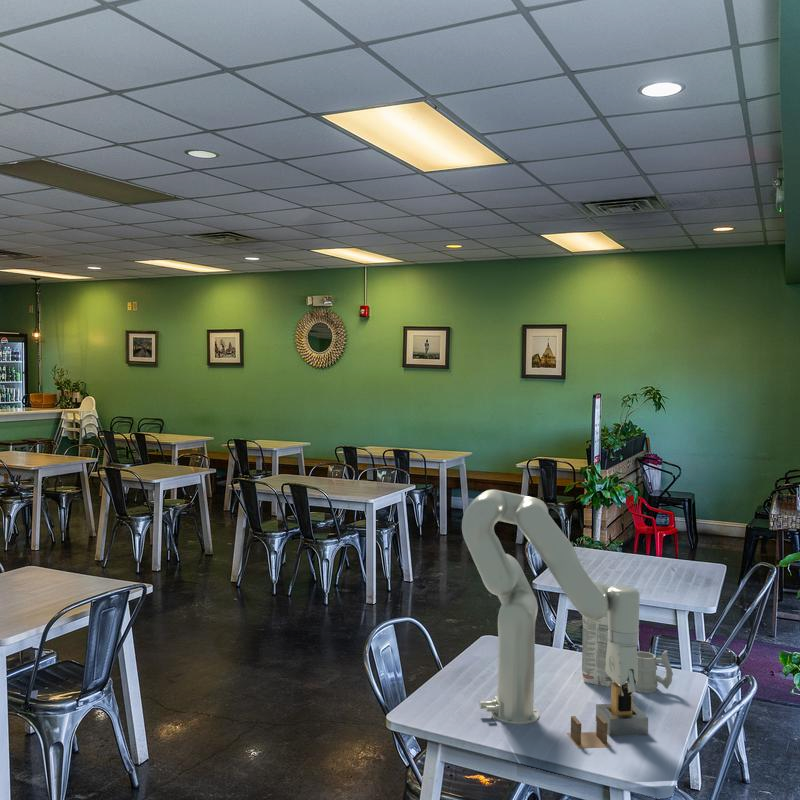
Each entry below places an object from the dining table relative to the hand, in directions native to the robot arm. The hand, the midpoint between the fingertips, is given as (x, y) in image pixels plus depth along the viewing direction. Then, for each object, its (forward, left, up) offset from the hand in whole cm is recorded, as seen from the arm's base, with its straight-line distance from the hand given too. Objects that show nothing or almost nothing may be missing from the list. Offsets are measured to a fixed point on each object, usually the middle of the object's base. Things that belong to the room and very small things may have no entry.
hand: (621, 707), depth 189 cm
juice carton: (+7, +32, -6) cm, 33 cm away
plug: (0, 0, -4) cm, 4 cm away
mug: (+20, +25, -6) cm, 33 cm away
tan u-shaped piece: (-11, -6, -6) cm, 14 cm away
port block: (0, 0, -6) cm, 6 cm away
